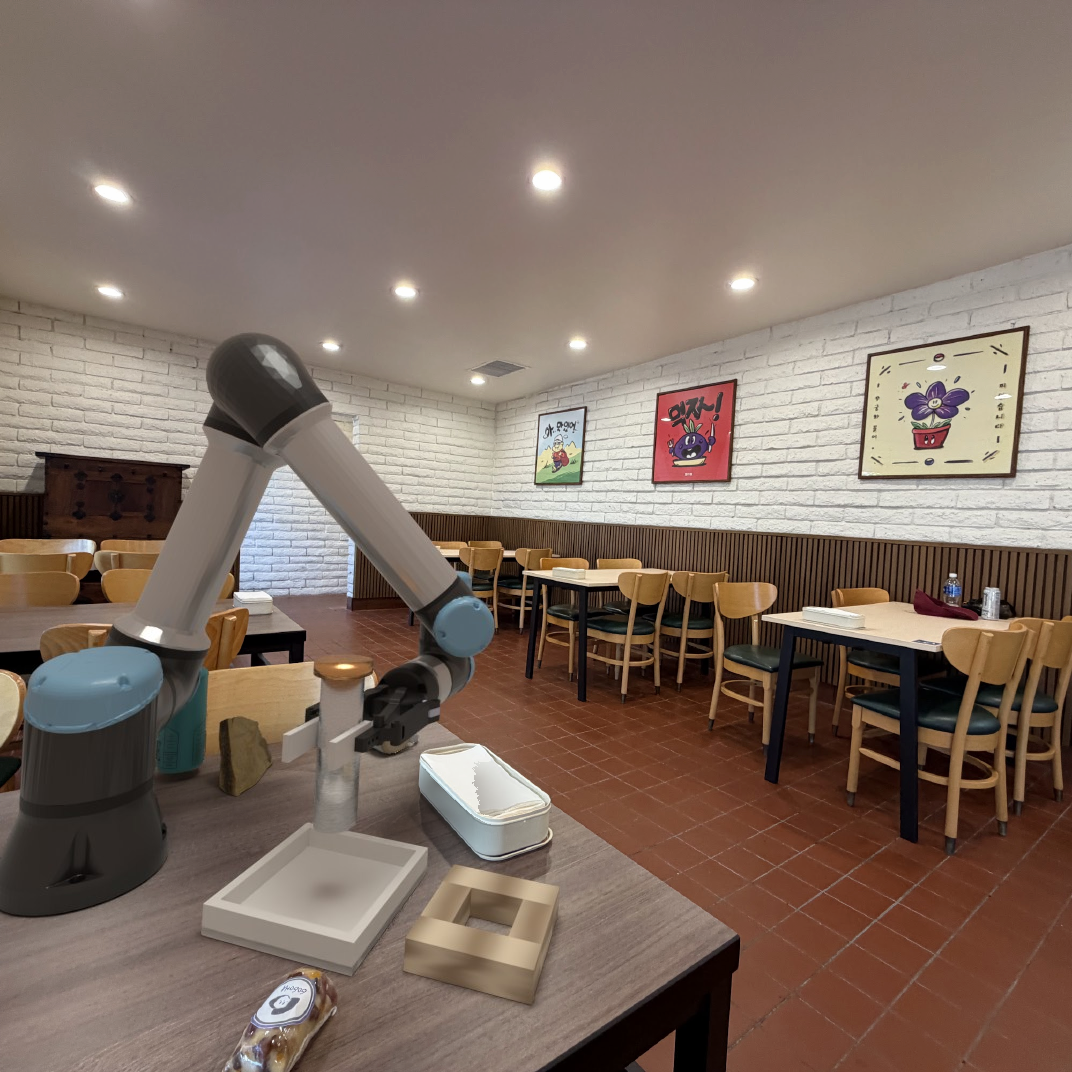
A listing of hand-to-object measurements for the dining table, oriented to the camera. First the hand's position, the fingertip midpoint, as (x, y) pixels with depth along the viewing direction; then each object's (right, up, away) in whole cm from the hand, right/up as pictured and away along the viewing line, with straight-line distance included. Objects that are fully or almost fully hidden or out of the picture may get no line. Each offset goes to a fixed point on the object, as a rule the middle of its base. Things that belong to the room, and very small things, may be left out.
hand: (308, 752), depth 55 cm
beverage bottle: (-32, -16, +31) cm, 47 cm away
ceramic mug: (-5, -17, +48) cm, 51 cm away
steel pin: (+1, -10, +5) cm, 11 cm away
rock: (-22, -16, +32) cm, 42 cm away
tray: (0, -18, +5) cm, 19 cm away
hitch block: (+17, -19, +1) cm, 26 cm away
